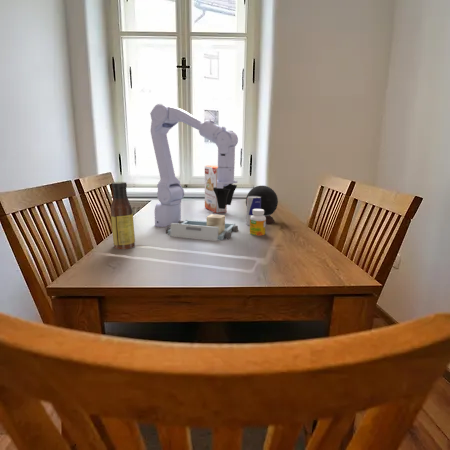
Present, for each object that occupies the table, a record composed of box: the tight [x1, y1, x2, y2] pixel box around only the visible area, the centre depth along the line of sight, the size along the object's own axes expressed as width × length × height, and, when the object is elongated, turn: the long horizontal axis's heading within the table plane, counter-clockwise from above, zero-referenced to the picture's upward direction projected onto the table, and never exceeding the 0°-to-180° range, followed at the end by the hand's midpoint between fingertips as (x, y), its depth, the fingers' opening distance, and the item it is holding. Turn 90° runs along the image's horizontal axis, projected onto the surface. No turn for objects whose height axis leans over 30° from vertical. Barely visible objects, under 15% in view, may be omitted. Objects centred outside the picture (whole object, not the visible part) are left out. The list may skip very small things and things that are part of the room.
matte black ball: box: [245, 185, 279, 225], centre depth 141 cm, size 13×13×15 cm
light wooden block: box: [206, 213, 226, 236], centre depth 116 cm, size 5×5×6 cm
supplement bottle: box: [249, 209, 267, 237], centre depth 117 cm, size 5×5×10 cm
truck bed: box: [165, 219, 239, 241], centre depth 118 cm, size 22×18×3 cm
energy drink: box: [245, 196, 261, 227], centre depth 130 cm, size 5×5×12 cm
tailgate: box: [169, 223, 219, 242], centre depth 110 cm, size 16×2×5 cm, turn 74°
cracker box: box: [204, 165, 228, 214], centre depth 161 cm, size 14×6×21 cm, turn 25°
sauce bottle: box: [110, 181, 136, 250], centre depth 101 cm, size 7×6×20 cm
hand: (224, 206), depth 119 cm, fingers open, 7 cm apart
